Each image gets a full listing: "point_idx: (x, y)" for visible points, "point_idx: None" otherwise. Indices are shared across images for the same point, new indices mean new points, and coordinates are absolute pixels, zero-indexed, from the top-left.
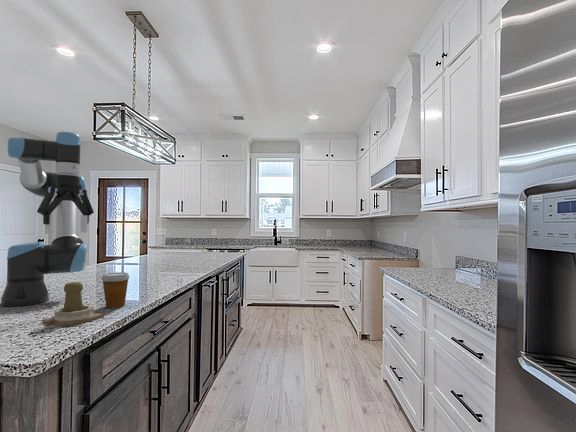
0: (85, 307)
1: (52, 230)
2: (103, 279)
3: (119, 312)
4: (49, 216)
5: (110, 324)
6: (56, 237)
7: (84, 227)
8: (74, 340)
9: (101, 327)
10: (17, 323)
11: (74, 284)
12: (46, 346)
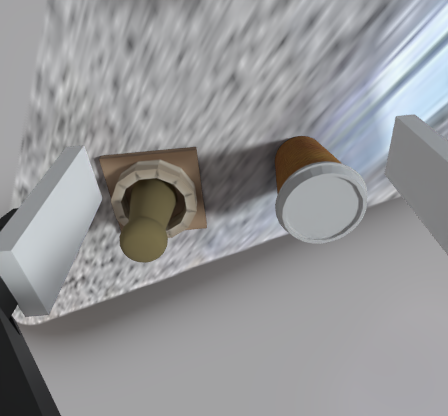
0: (185, 201)
1: (94, 214)
2: (276, 200)
3: (251, 219)
4: (23, 294)
5: (178, 272)
6: None
7: (404, 186)
8: (93, 295)
9: (157, 274)
10: (58, 105)
11: (136, 260)
12: None
